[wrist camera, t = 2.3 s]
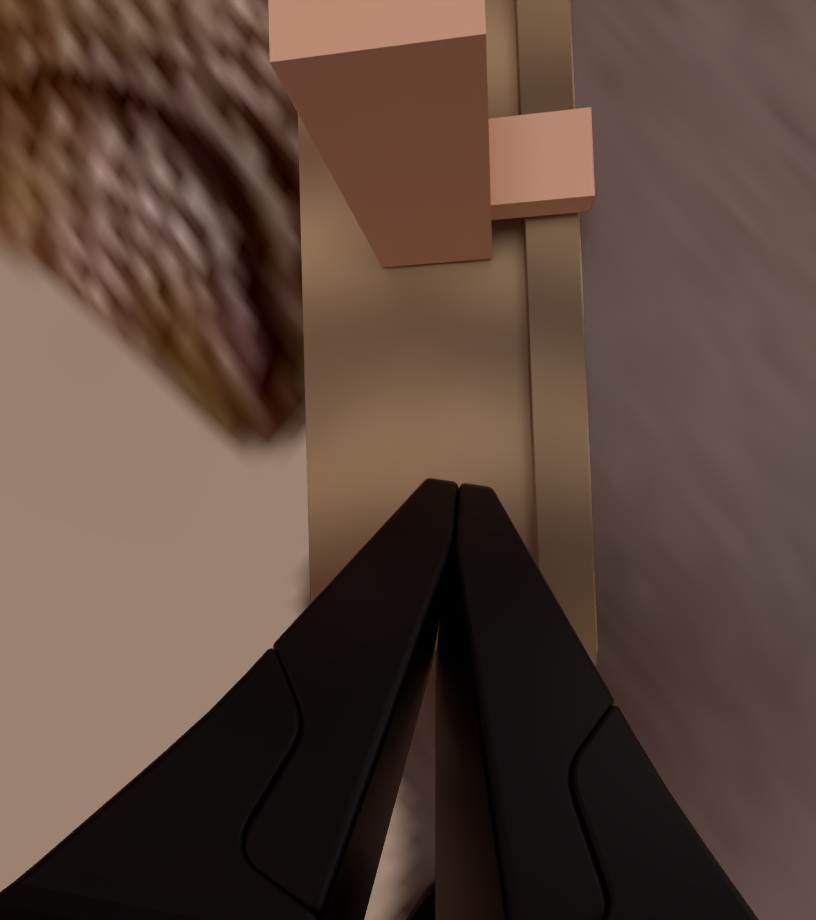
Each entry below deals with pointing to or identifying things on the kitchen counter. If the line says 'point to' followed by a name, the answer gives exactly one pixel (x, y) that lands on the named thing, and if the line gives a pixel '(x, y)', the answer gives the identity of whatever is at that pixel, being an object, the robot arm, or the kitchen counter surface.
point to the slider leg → (423, 125)
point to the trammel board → (454, 353)
